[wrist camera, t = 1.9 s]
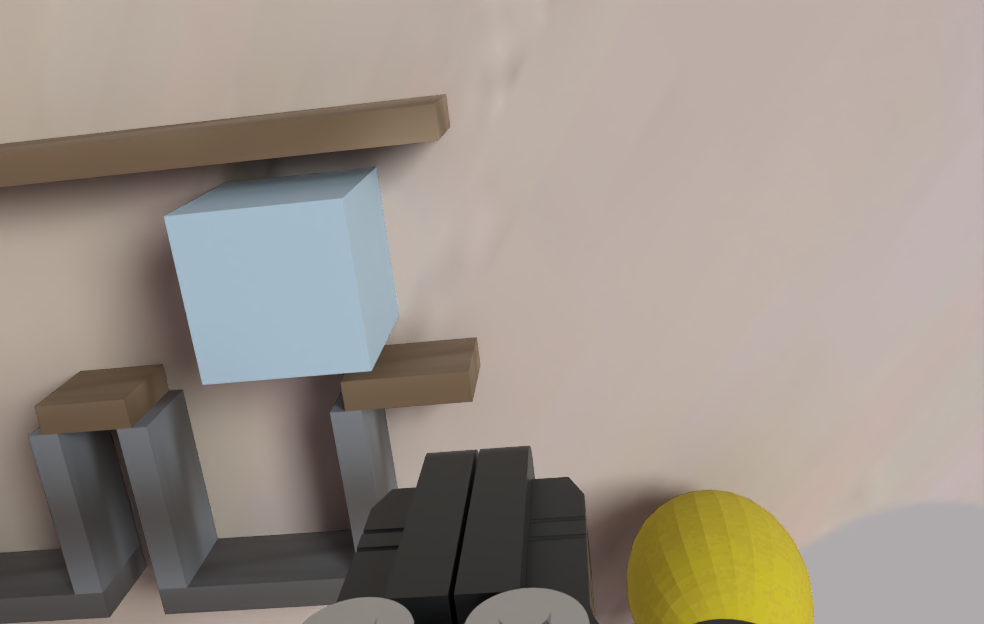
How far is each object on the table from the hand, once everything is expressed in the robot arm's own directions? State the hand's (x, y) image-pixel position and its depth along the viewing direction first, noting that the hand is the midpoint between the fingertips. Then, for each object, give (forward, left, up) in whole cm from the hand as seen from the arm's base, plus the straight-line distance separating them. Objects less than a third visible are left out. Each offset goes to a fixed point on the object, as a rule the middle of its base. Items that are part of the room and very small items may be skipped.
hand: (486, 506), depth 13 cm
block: (0, -7, -17) cm, 19 cm away
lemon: (+11, +5, -17) cm, 21 cm away
